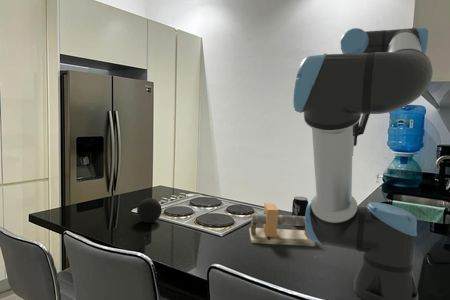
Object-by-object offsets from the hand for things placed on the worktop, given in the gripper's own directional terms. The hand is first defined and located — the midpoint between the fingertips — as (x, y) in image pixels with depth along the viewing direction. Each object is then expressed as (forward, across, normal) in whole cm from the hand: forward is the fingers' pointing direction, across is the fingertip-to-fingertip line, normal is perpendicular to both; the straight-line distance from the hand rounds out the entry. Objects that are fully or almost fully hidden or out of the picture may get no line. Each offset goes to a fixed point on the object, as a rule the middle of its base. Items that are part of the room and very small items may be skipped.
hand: (349, 155), depth 109 cm
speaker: (+34, +70, -28) cm, 83 cm away
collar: (+32, +22, -16) cm, 42 cm away
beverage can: (+34, +6, -33) cm, 48 cm away
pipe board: (+34, +18, -16) cm, 41 cm away
